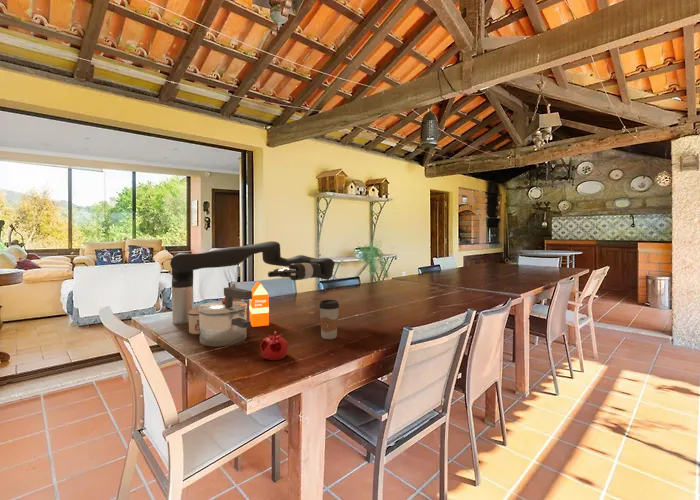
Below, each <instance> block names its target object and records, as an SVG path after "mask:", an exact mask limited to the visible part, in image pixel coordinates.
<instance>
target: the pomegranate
mask: <svg viewBox="0 0 700 500" xmlns="http://www.w3.org/2000/svg"><path fill="white" fill-rule="evenodd" d="M277 334H278V331H277V330H275V331H274V333H273V335H270V334H268V335H266V337H265V338H263V339H262V341H261V342H260V344H259V349H260V353H261V356H262V358H263V359H265V360H269V361H278V360H283V359H285V357H286V356H287V355H288V353H289V350H290V344H289V342H288V341H287V340H286V339H285V337H282V336H284V333H283V334H279V335H277Z"/></svg>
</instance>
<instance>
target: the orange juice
mask: <svg viewBox="0 0 700 500" xmlns="http://www.w3.org/2000/svg"><path fill="white" fill-rule="evenodd" d="M250 291H252V299H249V300H248V301H249V305H248V306H249V307H248V308H249V321H251V327H252V328H254V327H264V326H270V318H269V317H270V301H269V299H270V298H269V297H270V296H269V292H267V290H266V289H265V288H264V286H263V284H262V283H261V282H259V281H258V280H257V281H256V282H255V284H254V285H253V287H252V288H251V290H250Z"/></svg>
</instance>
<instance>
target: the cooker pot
mask: <svg viewBox="0 0 700 500" xmlns="http://www.w3.org/2000/svg"><path fill="white" fill-rule="evenodd" d="M199 325H200V334H199V343H200V344H201V345H204V346H206V347H207V346H208V347H222V346H223V347H225V346H231V345H235V344H239V343H241V342H244V341H245V340H246V339H247V337H248V336H247V332H248V331H247V328H251V327H252V325H251V321H250V320H247V309H246V310H244V311H241V312H237V313H232V314H223V315H208V314H202V313H199Z"/></svg>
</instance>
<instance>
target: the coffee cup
mask: <svg viewBox="0 0 700 500" xmlns="http://www.w3.org/2000/svg"><path fill="white" fill-rule="evenodd" d="M339 308H340V304H339V301H338V300H335V299H324V300H321V301H320V303H319V308H318V309H319V314H320V315H319V319H320V322H319V323H320V332H321V333H320V334H321V338H322V339H324V340H333V339H336V338H337V336H338V327H339V326H338V324H339Z"/></svg>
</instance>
